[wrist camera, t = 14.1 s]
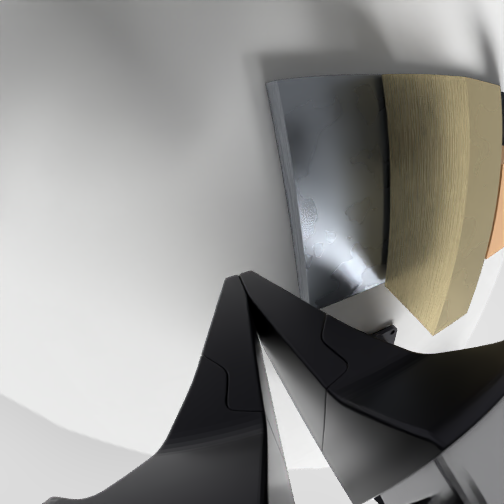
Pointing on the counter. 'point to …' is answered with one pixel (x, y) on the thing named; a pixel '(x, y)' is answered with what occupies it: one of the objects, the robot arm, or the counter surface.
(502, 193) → the block
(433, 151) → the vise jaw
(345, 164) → the vise bed
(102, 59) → the counter surface
